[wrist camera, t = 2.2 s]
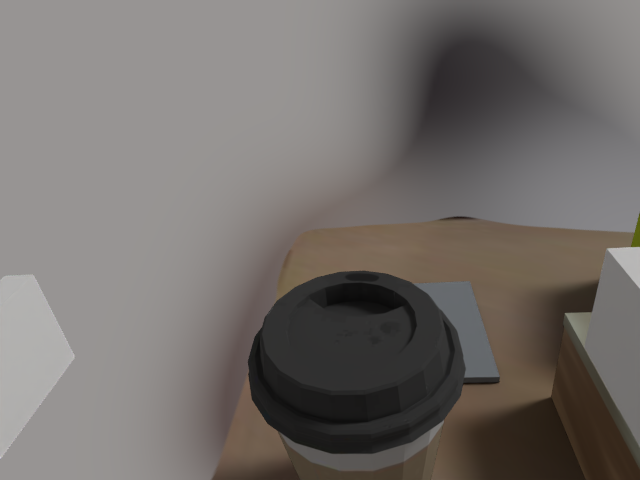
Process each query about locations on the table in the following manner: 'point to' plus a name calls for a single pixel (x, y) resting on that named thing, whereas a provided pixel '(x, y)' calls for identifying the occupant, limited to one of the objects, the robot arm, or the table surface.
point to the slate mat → (465, 328)
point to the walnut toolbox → (591, 410)
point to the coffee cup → (357, 376)
